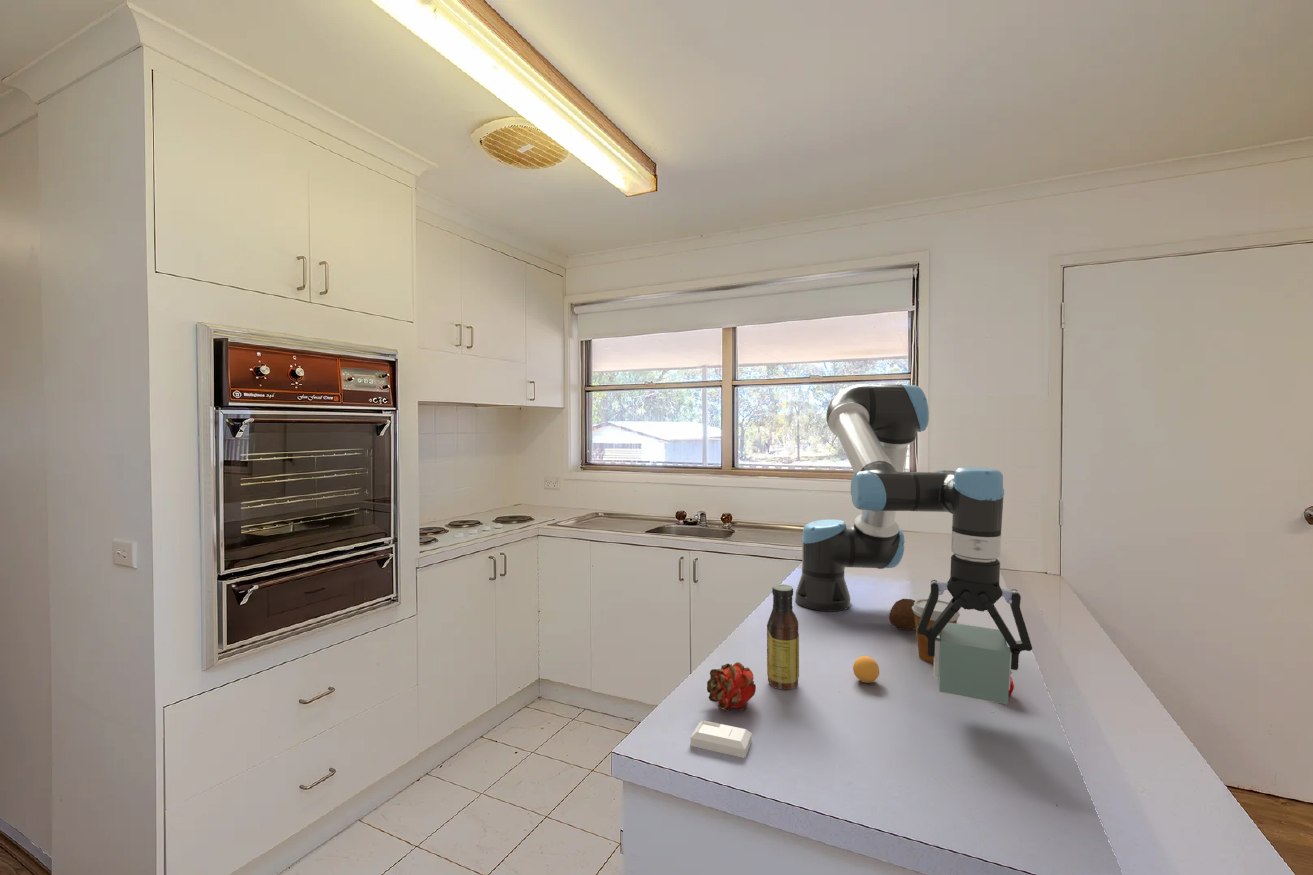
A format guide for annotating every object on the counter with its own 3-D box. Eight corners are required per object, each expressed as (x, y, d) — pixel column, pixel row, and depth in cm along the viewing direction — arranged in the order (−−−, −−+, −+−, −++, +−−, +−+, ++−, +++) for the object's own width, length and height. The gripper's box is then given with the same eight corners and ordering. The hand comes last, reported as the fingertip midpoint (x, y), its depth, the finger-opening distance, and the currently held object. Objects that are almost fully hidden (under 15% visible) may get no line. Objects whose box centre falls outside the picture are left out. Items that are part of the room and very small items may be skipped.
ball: (854, 673, 119) (854, 650, 119) (879, 678, 117) (880, 654, 117) (851, 684, 115) (852, 659, 114) (878, 689, 113) (878, 664, 112)
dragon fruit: (709, 727, 102) (741, 709, 111) (746, 710, 98) (776, 693, 107) (689, 679, 105) (722, 666, 115) (724, 661, 101) (755, 649, 111)
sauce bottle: (778, 674, 119) (779, 579, 118) (805, 684, 115) (806, 586, 114) (759, 684, 114) (761, 586, 114) (786, 695, 110) (788, 593, 109)
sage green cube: (937, 666, 108) (938, 620, 108) (999, 677, 104) (1001, 629, 103) (939, 691, 99) (941, 641, 98) (1008, 704, 95) (1010, 652, 94)
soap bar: (744, 760, 90) (745, 744, 90) (690, 748, 93) (690, 732, 93) (751, 744, 95) (751, 728, 95) (699, 732, 98) (699, 717, 98)
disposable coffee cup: (964, 669, 121) (966, 614, 121) (916, 665, 123) (917, 610, 123) (951, 651, 131) (952, 599, 130) (906, 647, 133) (907, 596, 132)
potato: (924, 627, 145) (925, 596, 145) (918, 640, 137) (919, 607, 137) (893, 621, 149) (894, 591, 149) (886, 633, 141) (886, 602, 141)
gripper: (903, 554, 101) (900, 676, 103) (1058, 570, 92) (1051, 703, 93) (904, 544, 108) (900, 658, 109) (1048, 558, 99) (1042, 683, 100)
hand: (970, 679), depth 101 cm, fingers closed on sage green cube, 10 cm apart
